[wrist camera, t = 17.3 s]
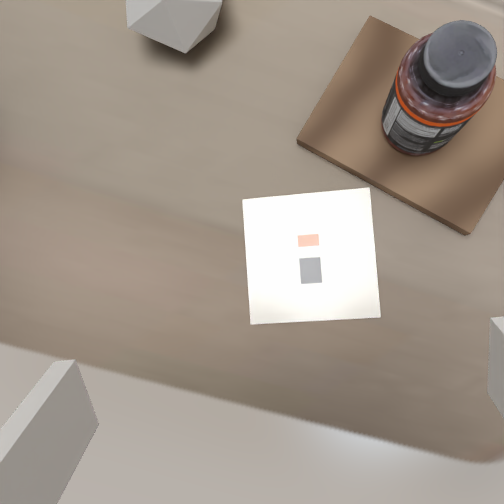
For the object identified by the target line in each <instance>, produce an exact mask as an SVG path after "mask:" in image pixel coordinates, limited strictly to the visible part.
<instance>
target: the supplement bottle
mask: <svg viewBox="0 0 504 504" xmlns="http://www.w3.org/2000/svg"><path fill="white" fill-rule="evenodd" d="M496 57H497V48H496V44H495V41H494V39H493V37H492V35H491V34H490V33H489V32H488V31H487V30H486V29H485V28H484V27H482V26H481V25H479V24H477V23H474V22H471V21H464V20H460V21H454V22H450V23H447V24H445V25H443V26H441V27H440V28H438V29H437V30H436V31H435V32H434V33H431V34H428V35H426V36H424V37H422V38H421V39H419V40H418V41H416V42H415V43H414V44H413V45H412V46H411V47H410V49H409V50H408V51H407V52H406V54H405V56H404V57H403V59H402V61H401V63H400V66H399V68H398V71H397V73H396V76H395V79H394V81H393V84H392V86H391V89H390V92H389V94H388V97H387V100H386V102H385V105H384V108H383V111H382V118H381V125H382V130H383V133H384V135H385V137H386V139H387V141H388V142H389V143H390V144H391V145H392V146H393V147H394V148H396V149H397V150H399V151H400V152H403V153H405V154H409V155H415V156H418V155H426V154H430V153H433V152H435V151H437V150H439V149H440V148H442V147H443V146H445V145H446V144H447V143H448V142H449V141H450V140H451V139H452V138H453V137H454V136H455V135H456V134H457V133H458V132H459V131H460V130H461V129H462V128H463V127H464V126H465V125H466V123H467V122H468V121H469V120H470V119H471V118H472V117H473V116H474V115H475V114H476V113H477V112H478V111H479V110H480V109H481V108H482V107H483V105H484V104H485V103H486V101H487V100H488V98H489V96H490V95H491V92H492V90H493V88H494V84H495V79H496V66H495V62H496Z"/></svg>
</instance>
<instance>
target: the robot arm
mask: <svg viewBox="0 0 504 504" xmlns="http://www.w3.org/2000/svg"><path fill="white" fill-rule="evenodd" d="M487 393H488V395H489V396H490V398H491V399H492V401H493V402H494V404H495V406H496V407H497V409H498V410H499V412H500V414H501V415H502V417H503V418H504V316H503V317H493V318H490V335H489V362H488V389H487ZM98 425H99V423H98V420H97V417H96V415H95V412H94V409H93V406H92V403H91V401H90V398H89V395H88V392H87V390H86V387H85V384H84V381H83V379H82V376H81V373H80V370H79V368H78V365H77V362H76V359H75V360H65V361H55V362H53V364H52V365H51V366H50V367H49V369H48V370H47V371H46V372H45V374H44V375H43V376H42V377H41V379H40V380H39V381H38V382H37V384H36V385H35V386H34V387H33V389H32V390H31V391H30V393H29V394H28V395H27V396H26V398H25V399H24V400H23V401H22V402H21V404H20V405H19V406H18V407H17V409H16V410H15V411H14V412H13V414H12V415H11V416H10V418H9V419H8V420H7V421H6V423H5V424H4V425H3V426H2V427H1V429H0V504H57V503H58V501H59V499H60V497H61V495H62V493H63V491H64V490H65V488H66V486H67V484H68V482H69V480H70V478H71V476H72V474H73V472H74V471H75V469H76V467H77V465H78V463H79V461H80V459H81V457H82V455H83V454H84V452H85V450H86V448H87V446H88V444H89V442H90V440H91V438H92V437H93V435H94V433H95V431H96V429H97V427H98Z"/></svg>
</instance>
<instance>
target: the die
mask: <svg viewBox="0 0 504 504" xmlns="http://www.w3.org/2000/svg"><path fill="white" fill-rule="evenodd" d="M221 6H222V0H126V13H127V28H128V29H130V30H133V31H135V32H137V33H140V34H142V35H144V36H147V37H149V38H151V39H153V40H156V41H158V42H160V43H163V44H165V45H167V46H169V47H172V48H174V49H176V50H179V51H181V52H183V53H187V52H188V51H189V50H190V49H192V48H193V47H194V46H195V45H196V44H198V43H199V42H200V41H201V40H203V39H204V38H205V37H206V36H207V35H209V34H210V33H211V32H212V31H213V30H215V27H216V23H217V20H218V16H219V13H220V9H221Z"/></svg>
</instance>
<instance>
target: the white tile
mask: <svg viewBox="0 0 504 504" xmlns="http://www.w3.org/2000/svg"><path fill="white" fill-rule="evenodd" d="M242 200H243V215H244V230H245V246H246V261H247V276H248V292H249V307H250V322H251V324H267V323H286V322H304V321H323V320H341V319H360V318H378V317H381V314H380V302H379V291H378V279H377V268H376V256H375V245H374V233H373V222H372V210H371V199H370V188H360V189H349V190H338V191H327V192H317V193H306V194H295V195H284V196H274V197H263V198H252V199H242Z"/></svg>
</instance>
